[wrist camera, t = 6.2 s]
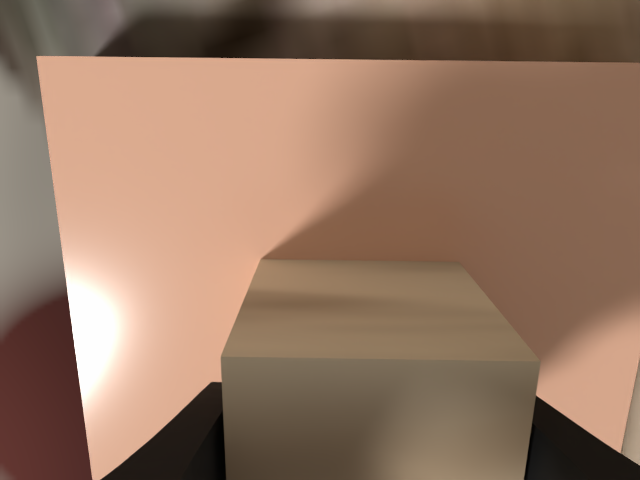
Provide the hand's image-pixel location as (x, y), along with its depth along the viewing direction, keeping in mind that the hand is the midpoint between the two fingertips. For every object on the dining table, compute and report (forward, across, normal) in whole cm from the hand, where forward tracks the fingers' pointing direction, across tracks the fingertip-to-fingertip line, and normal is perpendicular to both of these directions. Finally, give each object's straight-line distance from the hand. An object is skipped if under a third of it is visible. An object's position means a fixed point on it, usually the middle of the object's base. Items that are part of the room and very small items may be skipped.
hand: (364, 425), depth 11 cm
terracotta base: (+5, 0, 0) cm, 5 cm away
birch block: (+3, 0, 0) cm, 3 cm away
